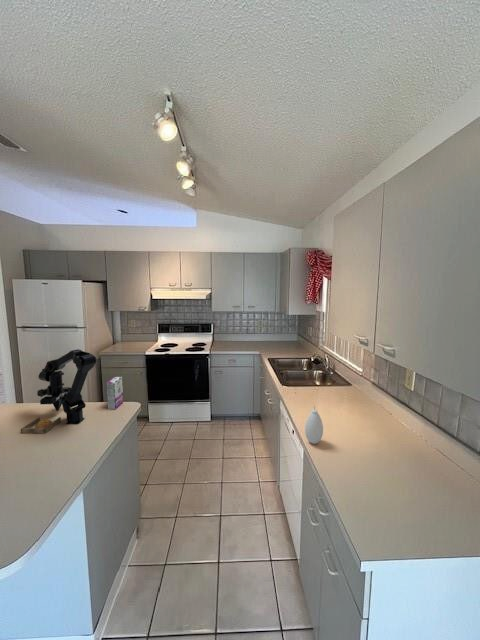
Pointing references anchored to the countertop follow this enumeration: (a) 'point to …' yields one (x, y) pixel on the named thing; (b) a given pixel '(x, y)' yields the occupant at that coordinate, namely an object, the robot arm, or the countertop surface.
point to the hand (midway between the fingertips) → (57, 410)
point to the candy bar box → (115, 392)
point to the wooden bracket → (39, 430)
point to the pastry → (43, 423)
